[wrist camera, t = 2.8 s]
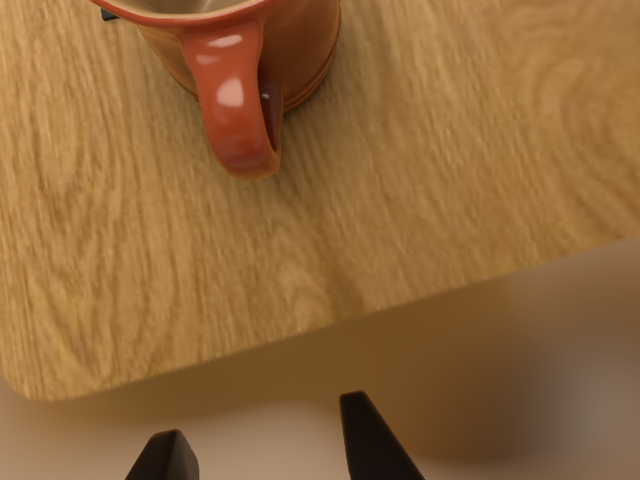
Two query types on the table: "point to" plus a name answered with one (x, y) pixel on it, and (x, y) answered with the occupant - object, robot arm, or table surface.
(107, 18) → the felt pad
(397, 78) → the table surface
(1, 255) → the table surface
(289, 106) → the mug
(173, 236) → the table surface
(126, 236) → the table surface
